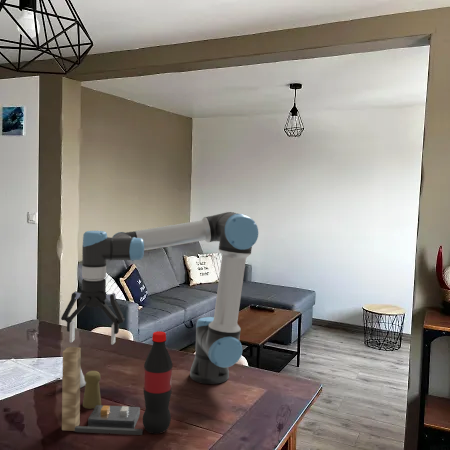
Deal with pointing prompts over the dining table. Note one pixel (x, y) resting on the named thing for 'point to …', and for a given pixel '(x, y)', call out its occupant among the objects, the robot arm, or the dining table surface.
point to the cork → (92, 390)
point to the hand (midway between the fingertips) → (92, 342)
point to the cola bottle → (157, 386)
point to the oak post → (71, 388)
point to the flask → (82, 379)
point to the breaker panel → (114, 416)
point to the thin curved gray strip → (108, 430)
